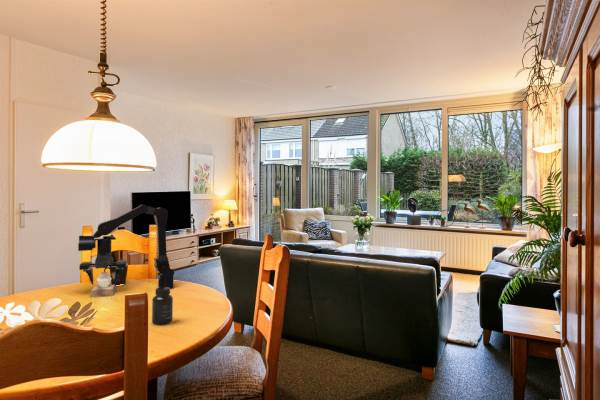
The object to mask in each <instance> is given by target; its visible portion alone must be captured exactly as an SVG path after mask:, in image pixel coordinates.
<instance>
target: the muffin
mask: <svg viewBox="0 0 600 400" xmlns="http://www.w3.org/2000/svg"><path fill="white" fill-rule="evenodd" d="M111 280H112V278H111V276H110V273H109V272H107V271H105V272H104V271H103V272H100V273H99V276H98V277H97V278H96V283H97V286H99V287H100V288H105V287H108V286H109V285H111Z"/></svg>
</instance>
